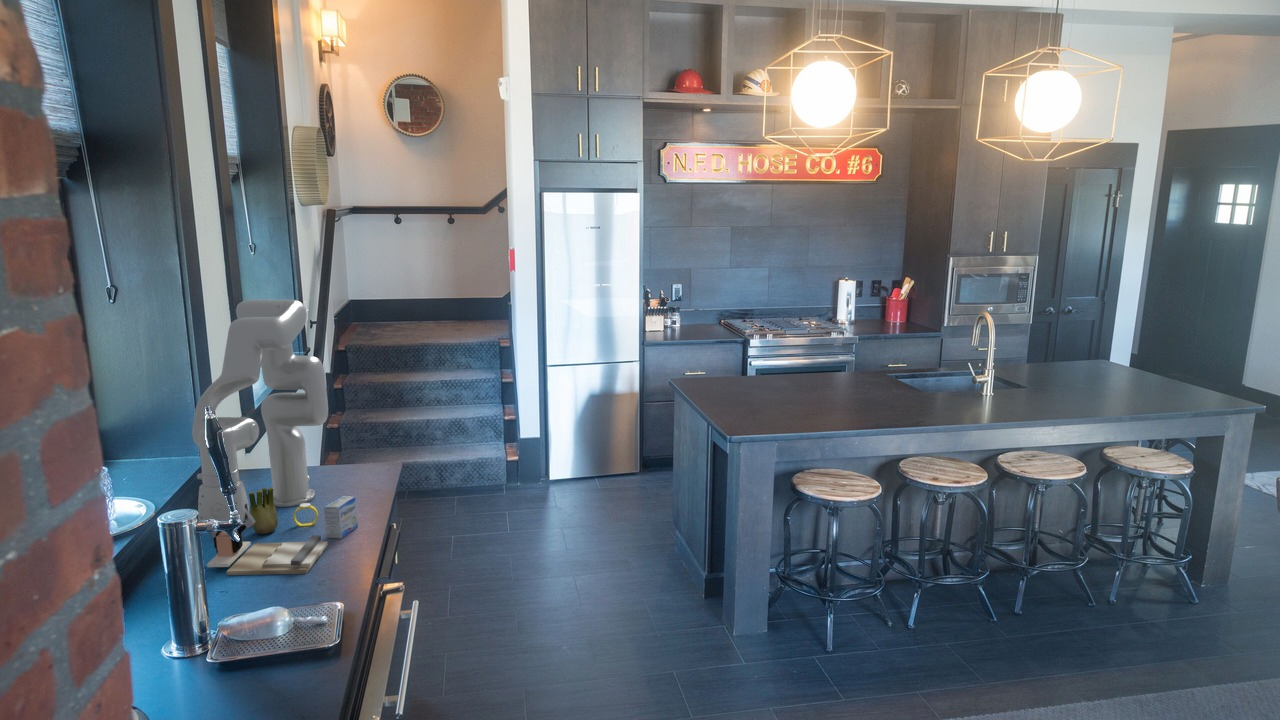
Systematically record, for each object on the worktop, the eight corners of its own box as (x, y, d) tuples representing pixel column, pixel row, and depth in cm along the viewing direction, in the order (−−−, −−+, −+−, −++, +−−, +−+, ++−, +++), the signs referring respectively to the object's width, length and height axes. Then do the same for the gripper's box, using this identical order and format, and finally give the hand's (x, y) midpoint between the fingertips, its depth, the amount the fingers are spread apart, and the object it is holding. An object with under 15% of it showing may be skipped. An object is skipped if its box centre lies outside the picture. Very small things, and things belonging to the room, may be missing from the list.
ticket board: (255, 546, 196) (253, 535, 196) (330, 545, 197) (329, 534, 197) (227, 575, 182) (225, 563, 181) (308, 573, 183) (307, 561, 182)
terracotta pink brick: (231, 544, 194) (228, 523, 193) (250, 544, 195) (248, 522, 194) (207, 567, 183) (204, 544, 182) (228, 566, 183) (225, 543, 182)
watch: (318, 523, 212) (318, 502, 211) (317, 527, 209) (317, 506, 208) (294, 524, 210) (294, 503, 209) (293, 528, 207) (293, 507, 206)
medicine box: (341, 539, 201) (339, 507, 199) (325, 538, 202) (323, 506, 200) (358, 527, 209) (356, 496, 207) (343, 525, 209) (340, 495, 208)
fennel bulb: (251, 537, 202) (246, 493, 200) (256, 529, 207) (252, 486, 205) (275, 535, 203) (271, 491, 201) (280, 527, 208) (275, 484, 206)
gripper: (176, 484, 181) (186, 558, 184) (249, 483, 181) (257, 556, 185) (193, 473, 188) (201, 544, 192) (263, 472, 189) (270, 543, 193)
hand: (229, 549), depth 188 cm, fingers closed on terracotta pink brick, 3 cm apart
